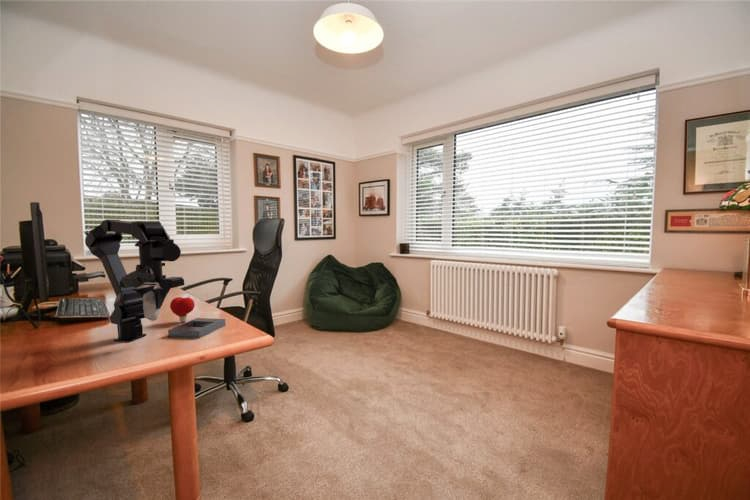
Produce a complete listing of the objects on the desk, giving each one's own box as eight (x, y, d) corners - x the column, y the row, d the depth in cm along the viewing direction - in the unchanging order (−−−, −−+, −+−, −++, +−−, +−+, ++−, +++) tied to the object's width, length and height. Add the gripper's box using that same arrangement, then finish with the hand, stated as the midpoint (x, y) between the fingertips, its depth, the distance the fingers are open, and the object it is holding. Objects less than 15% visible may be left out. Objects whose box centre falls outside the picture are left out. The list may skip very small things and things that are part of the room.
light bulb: (166, 324, 122) (164, 299, 121) (180, 319, 129) (178, 295, 128) (187, 325, 120) (185, 299, 120) (200, 320, 127) (198, 295, 127)
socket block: (168, 336, 108) (168, 329, 108) (197, 324, 122) (197, 318, 122) (199, 338, 106) (199, 331, 106) (225, 325, 120) (225, 319, 120)
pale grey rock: (156, 317, 105) (155, 287, 104) (165, 317, 104) (165, 288, 103) (140, 322, 99) (140, 291, 98) (150, 323, 98) (150, 291, 97)
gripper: (100, 263, 93) (104, 314, 95) (154, 263, 90) (158, 316, 92) (134, 259, 104) (137, 305, 106) (184, 259, 101) (186, 306, 103)
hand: (154, 308), depth 101 cm, fingers closed on pale grey rock, 3 cm apart
